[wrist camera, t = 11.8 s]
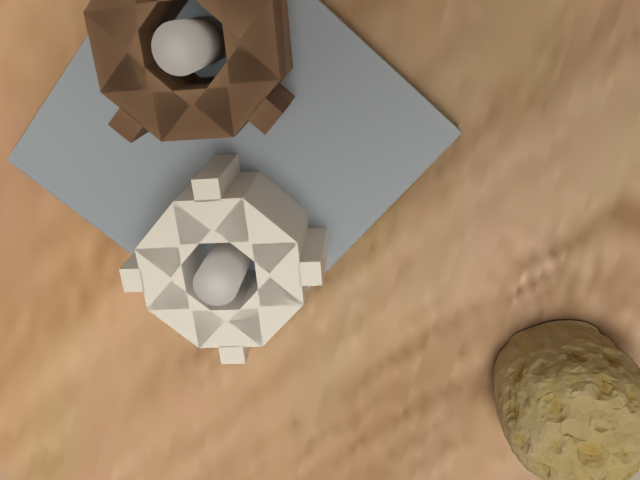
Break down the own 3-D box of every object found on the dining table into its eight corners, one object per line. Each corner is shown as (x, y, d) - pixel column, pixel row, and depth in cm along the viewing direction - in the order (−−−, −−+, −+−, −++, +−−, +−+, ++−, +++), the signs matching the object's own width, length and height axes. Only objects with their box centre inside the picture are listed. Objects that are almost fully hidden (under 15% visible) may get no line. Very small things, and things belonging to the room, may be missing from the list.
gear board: (196, -115, 31) (146, -146, 24) (458, 127, 35) (479, 160, 28) (20, 153, 38) (-59, 190, 31) (257, 334, 41) (234, 403, 34)
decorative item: (478, 326, 44) (447, 461, 39) (571, 279, 35) (548, 443, 30) (585, 382, 45) (569, 518, 40) (699, 349, 37) (697, 516, 32)
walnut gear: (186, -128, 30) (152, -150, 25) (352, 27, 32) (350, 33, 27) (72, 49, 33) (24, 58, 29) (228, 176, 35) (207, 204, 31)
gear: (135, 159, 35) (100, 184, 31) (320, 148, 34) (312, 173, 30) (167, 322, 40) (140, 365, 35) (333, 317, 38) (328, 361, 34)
